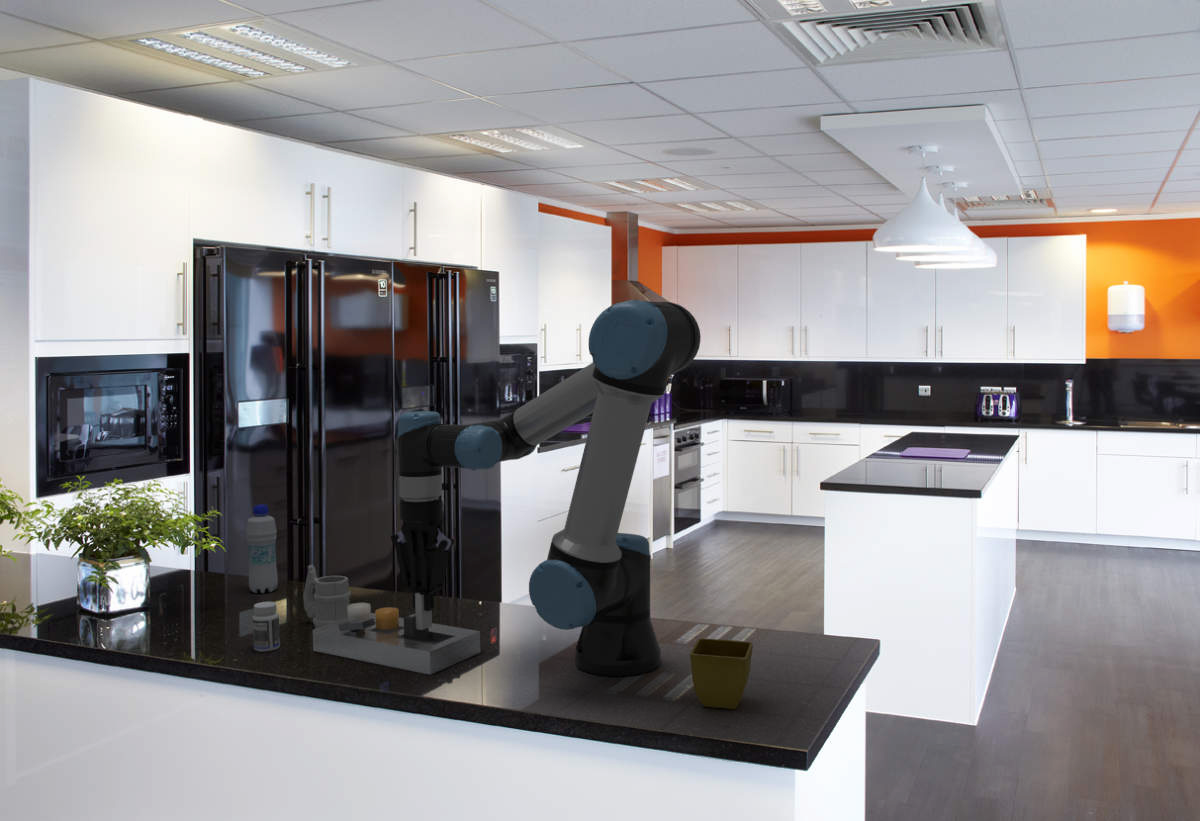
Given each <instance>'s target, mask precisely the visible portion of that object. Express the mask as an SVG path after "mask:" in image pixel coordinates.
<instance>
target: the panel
mask: <svg viewBox="0 0 1200 821" xmlns="http://www.w3.org/2000/svg"><path fill="white" fill-rule="evenodd" d="M371 618H374V622H375V625H373V626H370V627H367V628H364V629H357V630H347V631H340V630H339V624H342V623H345V622H348V618H346V619H343V620H340V621H337V622H334V623H331V624H328V625H325V626H322V627H319V628H316V629H315V628H313V629H312V651H313V652H318V653H321V654H327V655H332V656H337V657H342V658H346V659H350V660H351V659H352V660H356V661H362V662H366V663H369V664H370V663H371V664H376V665H380V666H386V667H391V668H395V669H400V670H406V671H409V672H414V673H415V672H416V673H419V674H420V673H421V674H424V675H433V674H435V673H437V672H440V671H442V670H445V669H447V668H449V667H451V666H453V665H456V664H458V663H460V662H463V661H465V660H467V659H469V658H472V657H473V656H476V655H478V654H481V631H480V630H474V629H468V628H464V627H458V626H457V627H456V626H452V625H450V626H449V625H445V624H439V623H435V622H434V623H433V622H432V627H429V641H422V640H417V639H411V638H406V637H404V617H399V627H397V628H394V629H387V630H382V629H377V628H376V616H375V612H371Z"/></svg>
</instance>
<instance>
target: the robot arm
mask: <svg viewBox="0 0 1200 821" xmlns="http://www.w3.org/2000/svg"><path fill="white" fill-rule="evenodd" d="M701 338H702V337H701V330H700V327H699V323H698V322H697V319H696V317H695V316H694V315H693V314H692V313H691V311H689V310H688V309H687V308H686V307H684V306H682V305H680V304H678V303H674V302H670V301H651V300H649V301H648V300H640V299H630V300H627V301H626V300H625V301H621V302H617V303H614V304H612V305H610V306H608V307H606V308H605V309H604V310H603V311H602V312H601V313H600V314H598V316H597V317H596V319H595V320H594V322H593V324H592V326H591V328H590V331H589V335H588V351H589V352H588V353H589V355H591V358H592V362H591V363H589V364H588V365H586V366H585V367H583V368H582V369H580V370H579V371H577V372H575V373H573V374H571V376H569V377H567V378H565V379H564V380H562V381H561V382H559V383H557V384H556V385H554V386H553V387H551V388H549V389H548V390H545V391H544V392H542V393H541V394H539V395H538V396H536V397H535V398H533V399H531V400H530V401H528V402H527V403H525V404H524V405H522V406H520V407H518V408H517V409H515V410H514V411H512V412H511V413H509V414H507V415H506V416H504V417H502V418H500V419H498V420H497V419H496V420H491V421H485V422H477V423H476V422H475V423H470V424H469V423H467V424H445V423H442V419H441V414H440V413H439V412H438V411H437V412H436V411H432V410H431V411H430V410H429V411H428V410H425V411H423V410H420V411H419V410H418V411H406V412H403V413H401V414H400V415H399V417H398V421H397V422H398V423H397V435H396V438H397V448H398V450H397V451H398V465H399V466H398V467H399V469H398V470H399V471H398V478H399V479H398V480H399V481H398V486H399V489H398V490H399V492H398V493H399V495H398V496H399V497H400V498H402V499H401V500H399V519H400V520H401V522H402V524H401V526H400V530H399V531H398V532H397V533H394V534H391V536H390V540H391V542H392V544H393V546H394V549H395V553H396V557H397V558H396V559H397V563H398V568H399V572H400V577H401V581H402V585H403V587H404V588H407V589H409V590H410V591H411V593H412V608H413V610H415V613H416V629H419V630H424V629H426V628H429V627H432V623H433V612H432V611H433V610H434V609H435V592H436V591H439V590H442V589H444V586H445V579H446V574H447V568H448V563H449V558H450V551H451V549H452V547H453V546H454V544H455V540H454V539H453V538H451V537H450V538H448V537H447V536H446V535H445V534H443V532H444V531H443V530H444V529H443V528H442V524H441V521H442V518H443V500H442V499H441V496H442V495H443V482H442V481H443V480H442V476H443V475H442V474H443V473H442V469H443V467H446V468H455V469H456V468H458V469H465V470H466V469H467V470H471V471H476V470H490V469H492V468H494V467H495V465H496V464H497V463H501V462H505V461H512V460H513V461H515V460H520V459H523V458H525V457H527V456H529V455H531V454H532V453H534V451H535V450H536V448H537V446H538V445H540V444H541V443H543V442H546V441H547V440H548V439H550V438H553V437H554V436H555V435H558V434H559V433H560V432H562V431H564V430H566V429H568V428H569V427H571V426H572V425H574V424H576V423H577V422H579V421H582V420H583V419H584V418H585V419H586V417H588V416H590V415H591V414H592V415H591V420H590V424H589V427H588V428H589V429H588V433H587V437H586V441H585V444H584V449H583V452H582V455H581V456H582V457H581V460H580V464H579V468H578V472H577V475H576V480H575V484H574V488H573V492H572V496H571V501H570V505H569V509H568V513H567V515H566V520H565V524H564V528H563V529H562V530H559V531H558V532H556V533H555V534H553V535H552V538H551V542H550V546H549V549H548V550H549V551H548V554H547V559H546V560H544V561H542V562H540V563H539V564H538V565H537V566H536V567H535V569H533V571H532V573H531V575H530V578H529V582H528V594H529V598H530V601H531V604H532V606H534V608H535V610H536V614H538V616H539V618H541V619H542V620H543V621H544V622H546V623H547V624H548V625H550V626H551V627H554V628H555V629H559V630H564V631H565V630H566V631H567V630H573V629H577V628H581V630H580V634H579V636H578V640H577V643H576V647H575V649H574V650H575V651H574V663H575V666H576V667H577V668H578V669H579V670H581V671H583V672H586V673H590V674H593V675H600V676H609V677H611V676H612V677H613V676H614V677H625V676H635V675H640V674H644V673H645V674H646V673H649V672H651V671H653V670H655V669H657V668H659V667H660V666H661V661H662V659H661V658H662V657H661V655H662V654H661V653H662V652H661V648H660V645H659V642H658V638H657V635H656V632H655V630H654V627H653V624H652V620H651V558H652V556H651V553H650V542H649V540H648V539H647V537H645V536H643V535H641V534H635V533H624V532H619V529H620V526H621V521H622V519H623V514H624V511H625V506H626V502H627V499H628V496H629V495H628V494H629V492H630V488H631V484H632V479H633V475H634V472H635V468H636V465H637V461H638V456H639V453H640V449H641V446H642V442H643V439H644V438H643V437H644V434H645V431H646V426H647V422H648V419H649V414H650V411H651V406H652V404H653V403H654V402H655V401H657V400H659V399H661V398H662V397H664V395H665V392H666V388H667V384H668V380H669V377H670V376H671V375H674V374H675V373H678V372H681V371H682V370H683V369H685V368H687V367H688V366H689V365H690V364H691V363H692V362H693V361H694V359H695V358H696V356H697V354H698V352H699V349H700V345H701Z"/></svg>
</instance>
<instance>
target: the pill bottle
mask: <svg viewBox="0 0 1200 821" xmlns="http://www.w3.org/2000/svg"><path fill="white" fill-rule="evenodd" d="M253 613H254V615H252V619H251V620H252V639H253V650H255V652H260V653H261V652H263V653H264V652H271V651H276V650H278V649H279V648H280V647H281V639H280V638H281V636H280V616H279V613H278V612H277V603H276V602H275V601H262V602H256V603H255V604H253Z"/></svg>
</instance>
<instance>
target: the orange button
mask: <svg viewBox="0 0 1200 821" xmlns="http://www.w3.org/2000/svg"><path fill="white" fill-rule="evenodd" d="M399 612H400V611H399V608H397V607H388V606H386V607H380V608H378V609H375V612H374V613H375V616H376V628H377V629H382V630H387V629H394V628H397V627H399V618H400V617H399V616H400V615H399Z"/></svg>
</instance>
